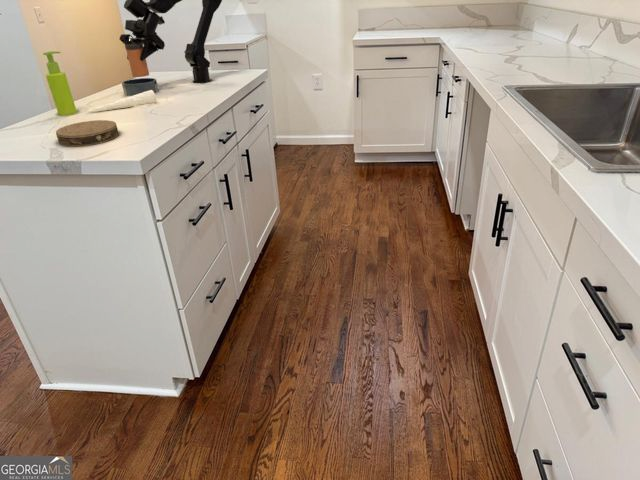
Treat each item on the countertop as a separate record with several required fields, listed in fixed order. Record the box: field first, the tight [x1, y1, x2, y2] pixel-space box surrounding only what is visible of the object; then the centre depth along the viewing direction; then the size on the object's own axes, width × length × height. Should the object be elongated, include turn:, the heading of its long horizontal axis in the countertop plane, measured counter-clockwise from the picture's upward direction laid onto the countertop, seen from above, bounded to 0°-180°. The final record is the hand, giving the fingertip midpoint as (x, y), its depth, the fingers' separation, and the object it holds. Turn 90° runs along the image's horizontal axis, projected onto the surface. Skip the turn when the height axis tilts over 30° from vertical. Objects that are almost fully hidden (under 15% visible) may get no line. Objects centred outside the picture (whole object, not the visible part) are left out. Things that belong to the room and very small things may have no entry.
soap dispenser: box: [42, 50, 78, 116], centre depth 152 cm, size 6×7×20 cm
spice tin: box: [124, 43, 150, 78], centre depth 175 cm, size 7×7×12 cm
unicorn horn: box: [87, 90, 158, 113], centre depth 160 cm, size 5×24×5 cm, turn 118°
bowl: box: [121, 77, 159, 97], centre depth 181 cm, size 13×13×5 cm
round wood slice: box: [55, 119, 120, 148], centre depth 128 cm, size 16×16×3 cm
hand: (134, 60), depth 174 cm, fingers closed on spice tin, 6 cm apart
